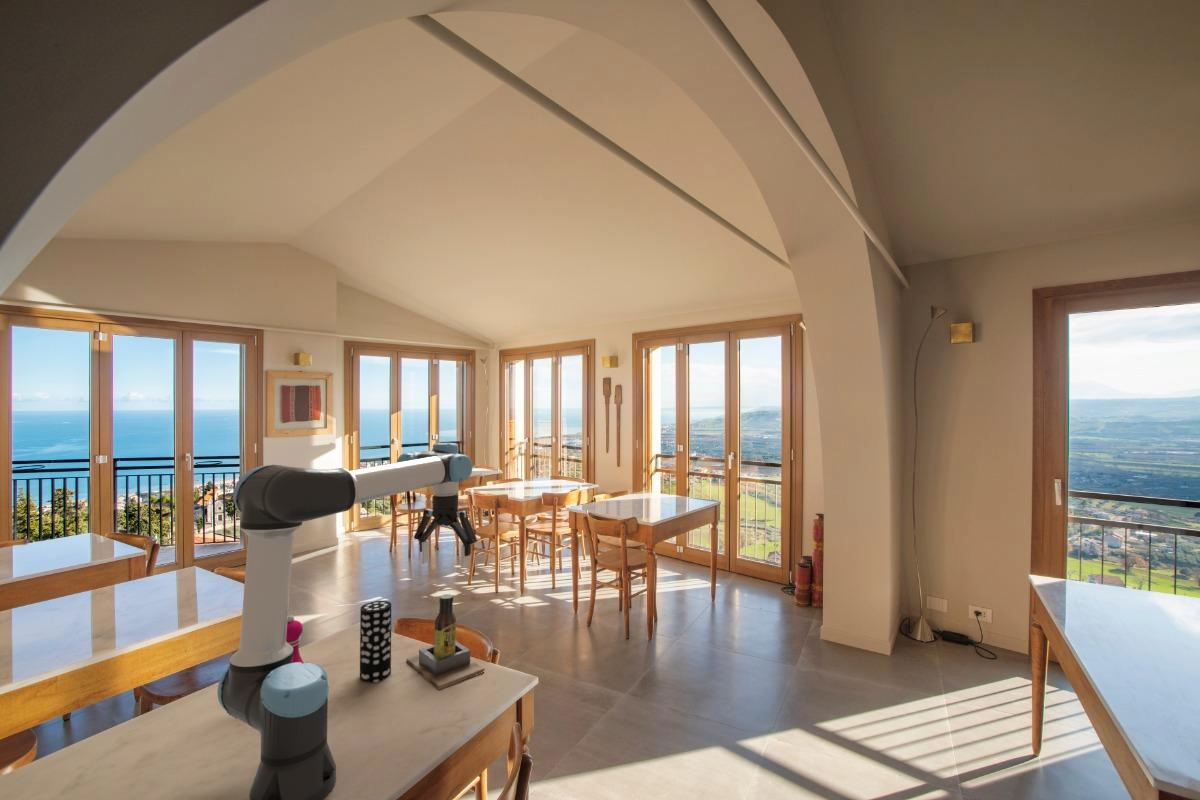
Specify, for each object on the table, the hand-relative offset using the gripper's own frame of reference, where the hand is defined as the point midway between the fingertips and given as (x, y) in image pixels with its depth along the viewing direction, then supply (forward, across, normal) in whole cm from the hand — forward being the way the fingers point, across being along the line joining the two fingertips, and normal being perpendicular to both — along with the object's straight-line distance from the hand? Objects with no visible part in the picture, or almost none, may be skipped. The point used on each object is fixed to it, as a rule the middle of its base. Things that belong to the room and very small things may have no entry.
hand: (444, 564), depth 157 cm
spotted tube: (+31, +16, +10) cm, 36 cm away
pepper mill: (+31, +34, +23) cm, 51 cm away
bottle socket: (+30, 0, 0) cm, 30 cm away
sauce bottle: (+30, 0, 0) cm, 30 cm away
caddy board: (+30, 0, 0) cm, 30 cm away
